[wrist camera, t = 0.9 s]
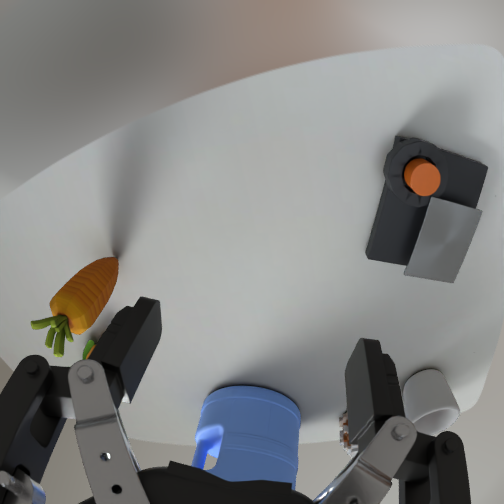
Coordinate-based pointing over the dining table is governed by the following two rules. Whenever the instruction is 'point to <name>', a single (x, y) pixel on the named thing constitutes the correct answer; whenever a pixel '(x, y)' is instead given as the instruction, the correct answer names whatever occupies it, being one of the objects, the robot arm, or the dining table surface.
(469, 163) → the scale
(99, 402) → the robot arm
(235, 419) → the water jug
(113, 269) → the carrot
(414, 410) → the cup
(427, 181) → the button
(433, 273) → the plate
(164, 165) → the dining table surface
